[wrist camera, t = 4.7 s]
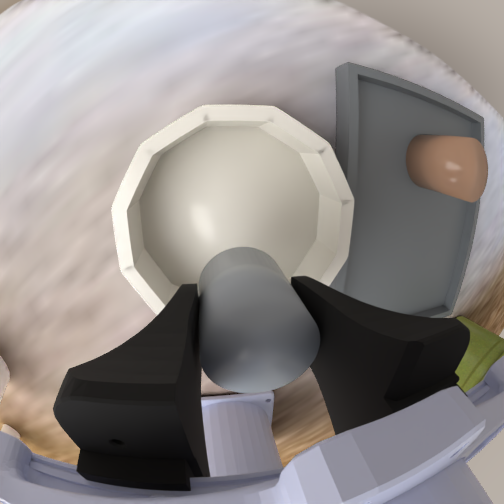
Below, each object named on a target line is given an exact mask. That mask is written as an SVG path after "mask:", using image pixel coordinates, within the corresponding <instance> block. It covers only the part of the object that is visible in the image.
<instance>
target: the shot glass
mask: <svg viewBox="0 0 504 504" xmlns="http://www.w3.org/2000/svg"><path fill="white" fill-rule="evenodd" d="M9 380H10V372H9V369H8V367H7V365H6V363H5V362H4V360H3V359H2V357H1V356H0V403H1V400H2V397H3V395H4V392H5V389H6V387H7V384H8V382H9Z"/></svg>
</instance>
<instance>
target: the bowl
mask: <svg viewBox="0 0 504 504" xmlns="http://www.w3.org/2000/svg"><path fill="white" fill-rule="evenodd" d="M111 210H112V219H113V227H114V234H115V241H116V248H117V254H118V260H119V265H120V271H121V273H122V274H123V275H124V276H125V278H126V279H127V280H128V281H129V283H130V284H131V285H132V286H133V288H134V289H135V290H136V291H137V293H138V294H139V295H140V296H141V297H142V299H143V300H144V301H145V302H146V303H147V304H148V306H149V307H150V308H151V309H152V310H153V311H154V312H155V314H156V315H158V314H159V313H160V312H161V311H162V310H163V308H164V307H165V306H166V305H167V303H168V302H169V301H170V300H171V298H172V297H173V296H174V294H175V293H176V291H177V290H178V289H179V287H180V286H181V285H182V284H196V283H197V286H198V283H199V278H200V275H201V272H202V270H203V269H204V267H205V266H206V264H207V263H208V262H209V261H210V260H211V259H212V258H213V257H214V256H216V255H217V254H219V253H221V252H222V251H225V250H227V249H231V248H235V247H252V248H256V249H259V250H262V251H263V252H265V253H267V254H268V255H270V256H271V257H272V258H273V259H274V260H275V261H276V263H277V264H278V266H279V267H280V269H281V270H282V272H283V273H284V275H285V276H286V278H287V279H288V281H289V282H290V284H291V277H294V276H308V277H310V278H313V279H315V280H317V281H319V282H321V283H323V284H325V285H327V286H330V284H331V283H332V281H333V280H334V278H335V277H336V275H337V274H338V272H339V271H340V269H341V268H342V266H343V264H344V263H345V261H346V260H347V257H348V254H349V246H350V238H351V230H352V221H353V211H354V197H353V195H352V192H351V190H350V188H349V185H348V183H347V180H346V178H345V176H344V173H343V171H342V169H341V167H340V164H339V162H338V160H337V158H336V156H335V153H334V151H333V149H332V147H331V145H330V144H329V143H328V142H327V141H326V140H324V139H323V138H322V137H320V136H319V135H317V134H316V133H315V132H313V131H312V130H310V129H309V128H307V127H306V126H304V125H303V124H301V123H300V122H298V121H297V120H295V119H294V118H292V117H291V116H289V115H288V114H286V113H285V112H283V111H282V110H280V109H278V108H277V107H274V106H263V105H203V106H200V107H198V108H196V109H195V110H193V111H191V112H189V113H188V114H186V115H184V116H183V117H181V118H179V119H178V120H176V121H174V122H173V123H171V124H170V125H168V126H167V127H165V128H163V129H162V130H160V131H159V132H157V133H156V134H154V135H153V136H151V137H150V138H149V139H147V140H146V141H144V142H143V143H141V145H140V146H139V148H138V150H137V152H136V154H135V156H134V158H133V160H132V162H131V164H130V166H129V168H128V170H127V172H126V175H125V177H124V179H123V181H122V184H121V186H120V188H119V190H118V193H117V195H116V198H115V200H114V202H113V205H112V208H111Z"/></svg>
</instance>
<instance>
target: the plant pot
mask: <svg viewBox="0 0 504 504" xmlns="http://www.w3.org/2000/svg"><path fill="white" fill-rule="evenodd" d="M456 319H458V320H459V321H461V322H462V323H463V324H464V325H465V326H467V327H468V328H469V330H470V342H469V345H468V348H467V350H466V352H465V354H464V356H463V358H462V360H461V362H460V364H459V366H458V368H457V369H456V371H455V373H456V374H457V375H458V376H459V379H460V380H459V381H458V382H457V384H458V385H459V387H460V388H461V389H462V390H463V391H464V392H467V391H468V390H470V389H471V388H472V387H474V386H475V385H477V384H478V383H479V382H481V381H482V380H484V377H485V375H486V373H487V371H488V370H489V368H490V367H491V366H492V365H493V364H494V363H495V362H496V361H497V360H499V359H500V358H501V357H502V356H504V339H503V338H501V337H499V336H498V335H496V334H494V333H492V332H490V331H488V330H487V329H485V328H483V327H481V326H479V325H478V324H476V323H474V322H472V321H471V320H469V319H467V318H465V317H463V316H459V317H457V318H456Z"/></svg>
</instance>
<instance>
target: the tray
mask: <svg viewBox="0 0 504 504" xmlns="http://www.w3.org/2000/svg"><path fill="white" fill-rule="evenodd" d="M419 134H432V135H448V136H460V137H470V138H475V139H477V140H478V141H479V142H480V143H481V145H482V146H483V148H484V118H483V117H481V116H480V115H478V114H476V113H474V112H473V111H471V110H469V109H467V108H465V107H464V106H462V105H460V104H458V103H456V102H454V101H452V100H450V99H448V98H446V97H444V96H442V95H440V94H437V93H435V92H433V91H431V90H428V89H426V88H424V87H421V86H419V85H417V84H414V83H412V82H409V81H406V80H404V79H401V78H398V77H396V76H393V75H390V74H387V73H384V72H381V71H378V70H374V69H371V68H368V67H364V66H361V65H357V64H353V63H349V62H347V63H345V64H343V65H341V66H339V67H337V68H336V158H337V160H338V162H339V164H340V167H341V169H342V171H343V173H344V176H345V178H346V180H347V183H348V185H349V188H350V190H351V192H352V195H353V197H354V211H353V221H352V230H351V238H350V246H349V254H348V257H347V260H346V261H345V263H344V264H343V266H342V268H341V269H340V271H339V272H338V274H337V275H336V277H335V278H334V280H333V281H332V283H331V284H330V286H329V287H331V288H333V289H335V290H337V291H339V292H341V293H343V294H346V295H348V296H350V297H352V298H355V299H357V300H359V301H362V302H365V303H367V304H370V305H373V306H376V307H379V308H383V309H386V310H390V311H394V312H399V313H403V314H408V315H414V316H422V317H431V318H443V317H446V316H449V315H451V314H452V312H453V309H454V306H455V303H456V300H457V297H458V294H459V291H460V288H461V285H462V282H463V278H464V275H465V271H466V268H467V264H468V260H469V256H470V252H471V248H472V243H473V239H474V234H475V229H476V223H477V217H478V211H479V204H480V198H479V199H478V200H477V201H475V202H468V201H465V200H462V199H459V198H455V197H452V196H449V195H446V194H442V193H439V192H435V191H432V190H428V189H425V188H421V187H419V186H417V185H416V184H414V182H413V181H412V180H411V178H410V176H409V174H408V171H407V166H406V153H407V148H408V145H409V143H410V142H411V140H412V139H413V138H414V137H415V136H417V135H419Z"/></svg>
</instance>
